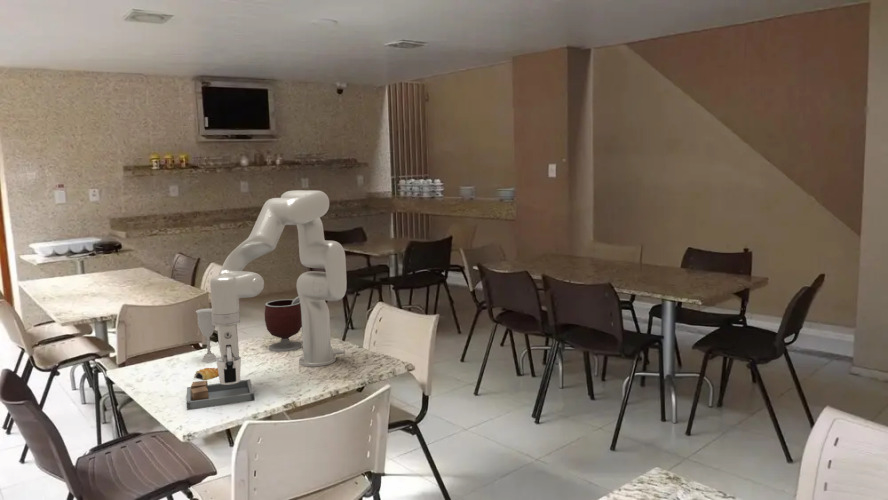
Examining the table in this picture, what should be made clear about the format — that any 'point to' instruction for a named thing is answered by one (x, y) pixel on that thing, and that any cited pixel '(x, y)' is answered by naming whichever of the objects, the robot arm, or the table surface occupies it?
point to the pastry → (207, 373)
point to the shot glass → (221, 368)
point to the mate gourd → (283, 323)
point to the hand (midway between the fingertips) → (229, 378)
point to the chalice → (206, 331)
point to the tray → (223, 395)
